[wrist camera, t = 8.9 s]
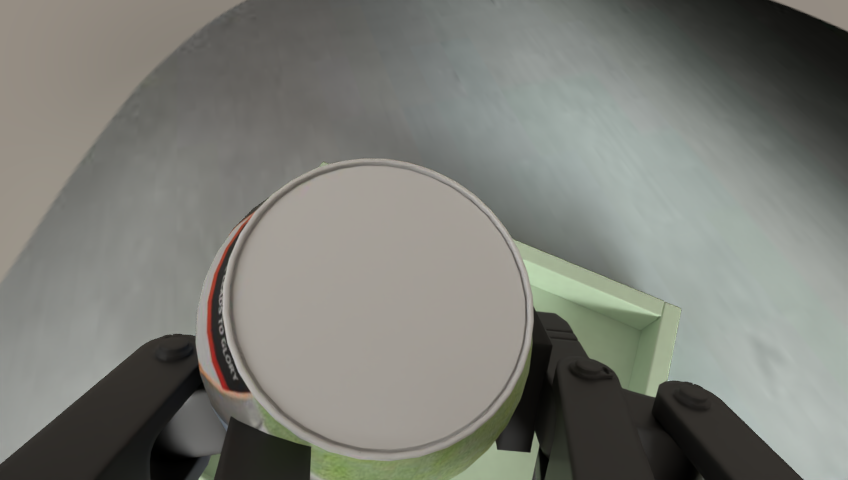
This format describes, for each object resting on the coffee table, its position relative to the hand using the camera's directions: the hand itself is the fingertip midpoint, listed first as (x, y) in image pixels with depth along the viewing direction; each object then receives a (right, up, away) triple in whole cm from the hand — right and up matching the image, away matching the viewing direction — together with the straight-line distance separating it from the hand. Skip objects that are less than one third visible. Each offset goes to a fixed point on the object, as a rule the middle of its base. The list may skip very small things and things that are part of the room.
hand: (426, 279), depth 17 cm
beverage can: (-2, -5, +1) cm, 5 cm away
